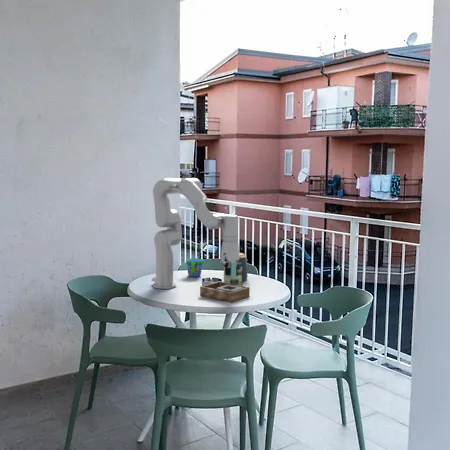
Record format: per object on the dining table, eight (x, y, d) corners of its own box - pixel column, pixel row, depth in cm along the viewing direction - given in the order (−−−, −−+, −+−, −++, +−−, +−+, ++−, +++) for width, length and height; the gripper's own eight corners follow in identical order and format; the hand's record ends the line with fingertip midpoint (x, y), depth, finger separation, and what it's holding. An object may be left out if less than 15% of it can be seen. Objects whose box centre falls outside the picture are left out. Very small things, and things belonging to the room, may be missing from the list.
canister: (231, 276, 314) (231, 247, 312) (250, 278, 309) (251, 249, 307) (222, 280, 302) (222, 250, 300) (242, 282, 297) (242, 252, 295)
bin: (200, 296, 266) (200, 286, 265) (218, 290, 278) (218, 281, 278) (231, 302, 254) (231, 293, 253) (249, 296, 267) (249, 287, 266)
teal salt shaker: (225, 277, 262) (225, 260, 261) (229, 276, 266) (229, 259, 265) (231, 278, 260) (231, 261, 259) (236, 277, 263) (236, 259, 262)
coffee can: (244, 286, 288) (244, 261, 287) (238, 290, 279) (238, 265, 277) (227, 284, 292) (227, 260, 290) (220, 288, 282) (221, 263, 281)
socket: (215, 295, 263) (216, 288, 263) (227, 291, 271) (227, 284, 271) (231, 299, 257) (231, 291, 257) (242, 295, 265) (243, 287, 265)
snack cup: (189, 273, 321) (189, 256, 319) (205, 273, 319) (205, 257, 317) (182, 278, 305) (182, 261, 304) (199, 279, 303) (200, 262, 302)
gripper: (234, 236, 270) (234, 270, 272) (214, 240, 256) (214, 276, 258) (246, 237, 265) (245, 272, 267) (226, 241, 252) (226, 278, 254)
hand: (230, 274), depth 263 cm, fingers closed on teal salt shaker, 4 cm apart
